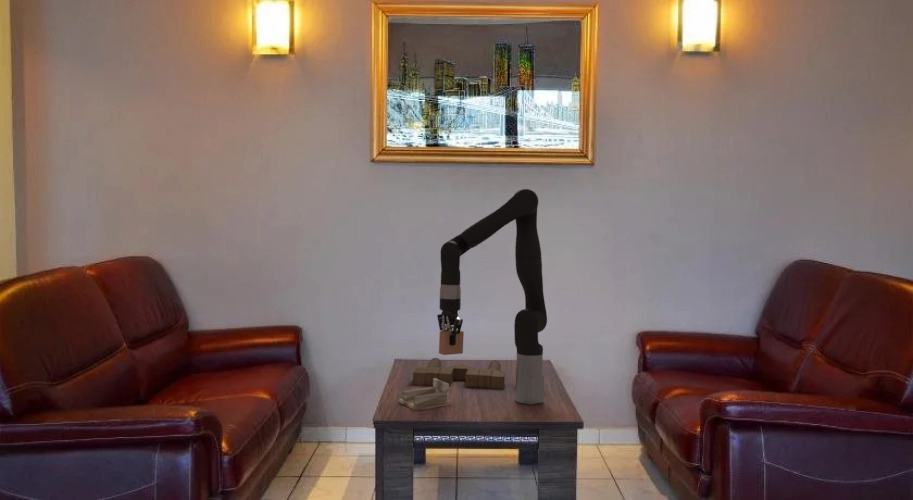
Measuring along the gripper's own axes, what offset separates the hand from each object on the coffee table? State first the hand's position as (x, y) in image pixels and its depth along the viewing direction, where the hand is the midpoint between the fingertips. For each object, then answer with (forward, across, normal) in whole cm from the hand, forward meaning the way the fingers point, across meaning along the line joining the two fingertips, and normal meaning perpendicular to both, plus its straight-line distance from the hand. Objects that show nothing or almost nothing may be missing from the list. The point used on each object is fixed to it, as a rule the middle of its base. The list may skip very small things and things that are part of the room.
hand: (449, 344), depth 249 cm
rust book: (+3, 0, -1) cm, 4 cm away
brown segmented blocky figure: (+20, +22, -20) cm, 36 cm away
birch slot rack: (+19, -3, +12) cm, 23 cm away
